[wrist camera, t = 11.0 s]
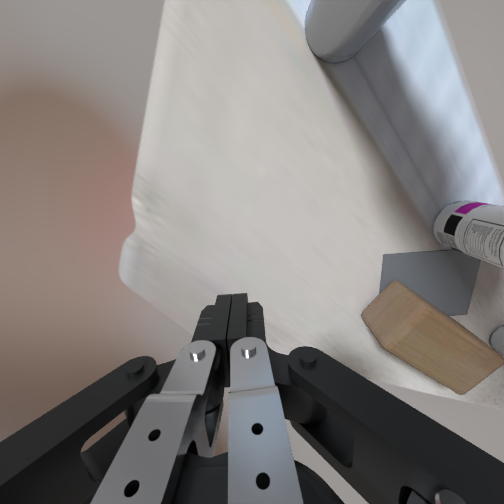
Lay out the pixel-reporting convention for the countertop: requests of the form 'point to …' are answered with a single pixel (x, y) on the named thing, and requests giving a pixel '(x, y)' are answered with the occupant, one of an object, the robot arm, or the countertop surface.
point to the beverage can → (498, 340)
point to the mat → (434, 277)
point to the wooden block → (429, 339)
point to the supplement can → (473, 230)
